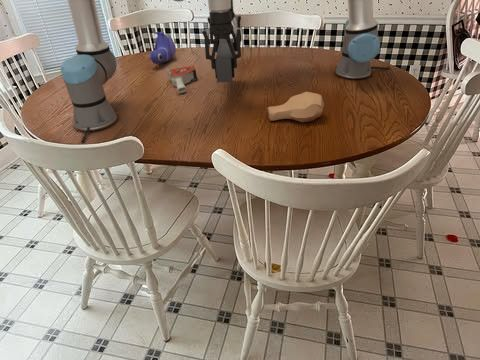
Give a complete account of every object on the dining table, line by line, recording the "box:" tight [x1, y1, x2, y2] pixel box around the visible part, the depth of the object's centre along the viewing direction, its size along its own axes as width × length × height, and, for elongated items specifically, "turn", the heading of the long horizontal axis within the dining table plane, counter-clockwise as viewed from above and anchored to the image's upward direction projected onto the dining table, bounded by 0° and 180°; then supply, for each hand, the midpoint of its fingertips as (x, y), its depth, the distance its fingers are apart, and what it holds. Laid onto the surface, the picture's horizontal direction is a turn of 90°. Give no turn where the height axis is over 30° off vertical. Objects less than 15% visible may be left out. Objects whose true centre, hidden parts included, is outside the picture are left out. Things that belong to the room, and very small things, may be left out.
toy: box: [148, 31, 177, 69], centre depth 182 cm, size 10×17×25 cm
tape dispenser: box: [166, 65, 198, 94], centre depth 159 cm, size 18×5×20 cm
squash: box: [266, 91, 325, 123], centre depth 125 cm, size 11×20×9 cm, turn 92°
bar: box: [215, 37, 234, 83], centre depth 141 cm, size 29×6×8 cm, turn 179°
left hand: (225, 76), depth 134 cm, fingers closed on bar, 6 cm apart
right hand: (227, 59), depth 151 cm, fingers closed on bar, 6 cm apart
